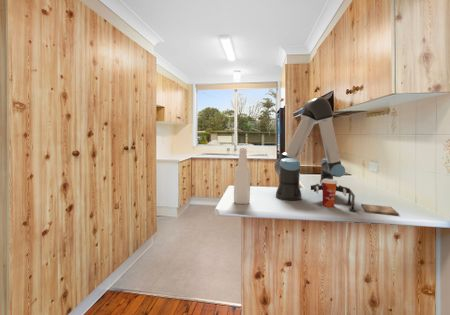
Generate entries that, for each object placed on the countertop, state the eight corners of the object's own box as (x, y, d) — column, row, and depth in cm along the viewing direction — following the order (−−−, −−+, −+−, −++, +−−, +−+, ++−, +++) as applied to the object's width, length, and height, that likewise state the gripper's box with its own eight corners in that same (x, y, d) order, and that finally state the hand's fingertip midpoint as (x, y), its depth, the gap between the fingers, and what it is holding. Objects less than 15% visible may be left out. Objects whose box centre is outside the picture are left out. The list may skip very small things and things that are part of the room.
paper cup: (328, 208, 131) (329, 181, 130) (317, 204, 138) (318, 179, 137) (339, 206, 134) (340, 180, 133) (328, 203, 141) (329, 178, 140)
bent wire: (349, 211, 126) (350, 194, 125) (345, 203, 141) (346, 188, 140) (356, 212, 125) (357, 195, 124) (351, 204, 140) (352, 189, 139)
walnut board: (365, 212, 125) (365, 210, 125) (361, 205, 138) (361, 203, 138) (398, 215, 121) (398, 213, 121) (390, 208, 133) (391, 206, 133)
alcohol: (249, 200, 143) (251, 147, 141) (249, 204, 134) (251, 148, 132) (234, 200, 144) (235, 147, 141) (233, 204, 135) (234, 148, 133)
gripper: (349, 193, 153) (356, 201, 133) (306, 189, 160) (306, 196, 140) (350, 180, 152) (357, 187, 132) (306, 177, 159) (307, 183, 139)
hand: (331, 192), depth 136 cm, fingers open, 13 cm apart
